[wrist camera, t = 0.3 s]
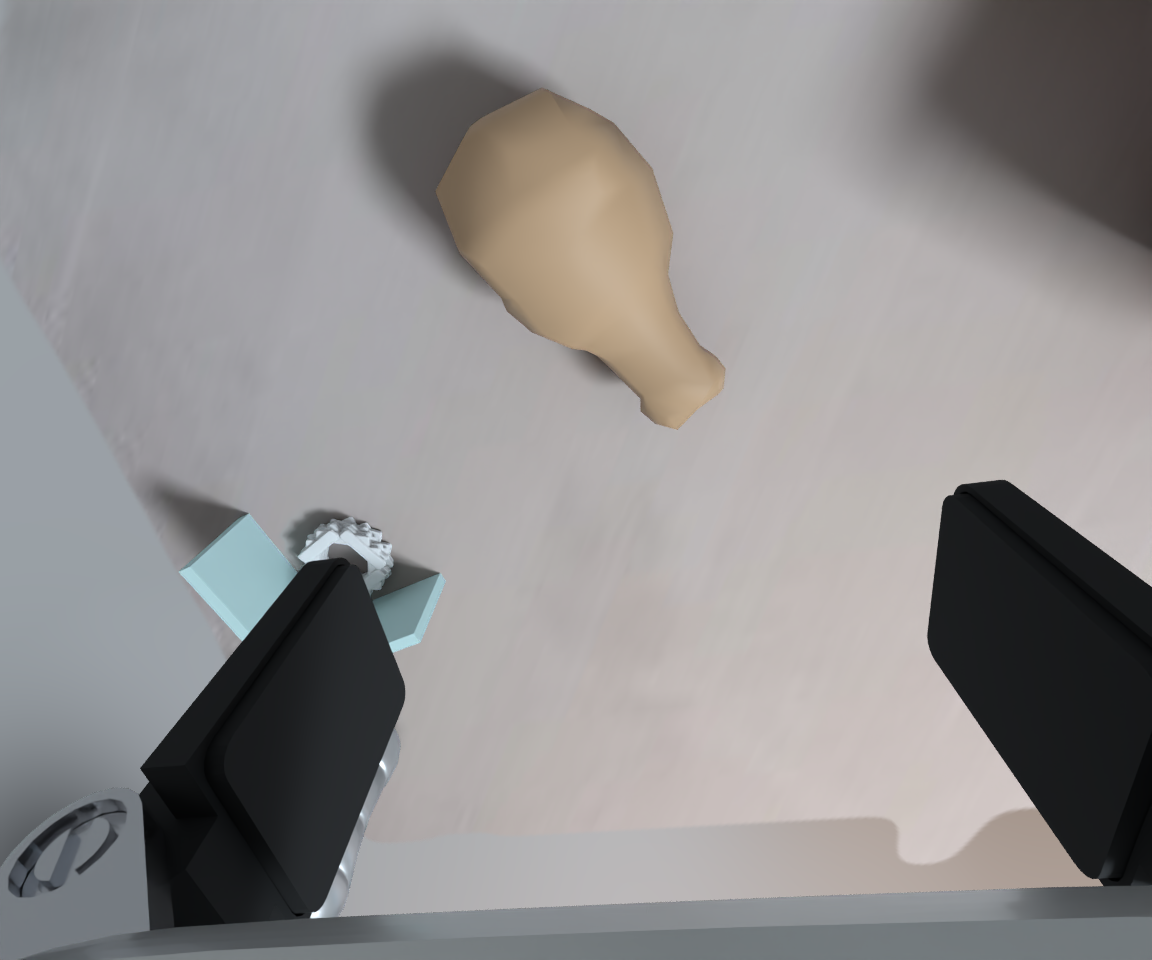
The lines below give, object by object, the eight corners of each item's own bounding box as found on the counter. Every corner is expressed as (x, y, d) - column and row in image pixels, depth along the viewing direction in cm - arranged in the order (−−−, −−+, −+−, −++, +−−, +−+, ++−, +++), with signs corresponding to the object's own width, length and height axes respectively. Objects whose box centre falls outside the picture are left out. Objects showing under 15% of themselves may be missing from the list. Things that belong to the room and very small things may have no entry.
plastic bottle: (407, 709, 55) (311, 959, 38) (406, 758, 58) (317, 1011, 41) (338, 700, 55) (209, 946, 37) (341, 749, 58) (223, 999, 40)
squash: (561, 50, 32) (545, 4, 24) (764, 332, 38) (805, 370, 30) (427, 193, 36) (374, 195, 28) (632, 431, 42) (638, 489, 34)
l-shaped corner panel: (446, 579, 49) (420, 642, 42) (330, 625, 52) (288, 691, 45) (362, 459, 44) (318, 507, 38) (240, 516, 47) (178, 571, 40)
